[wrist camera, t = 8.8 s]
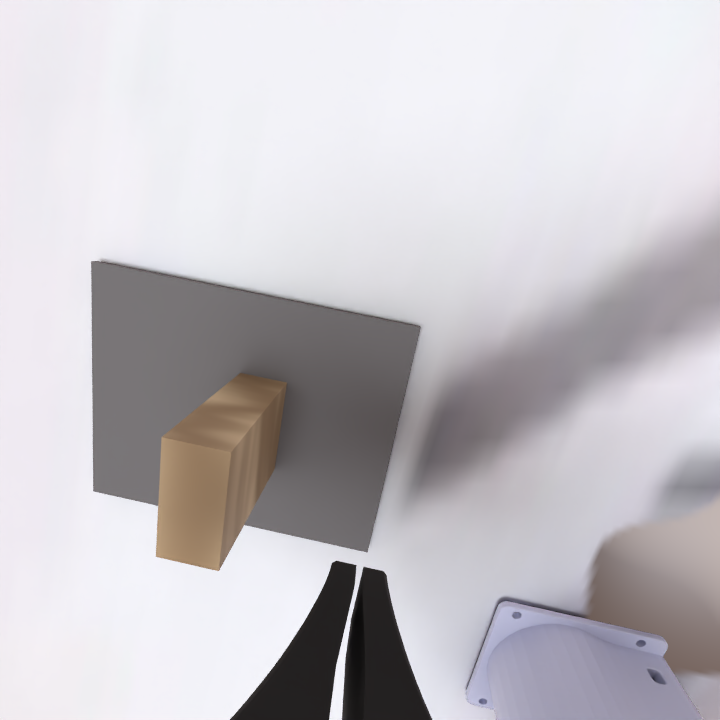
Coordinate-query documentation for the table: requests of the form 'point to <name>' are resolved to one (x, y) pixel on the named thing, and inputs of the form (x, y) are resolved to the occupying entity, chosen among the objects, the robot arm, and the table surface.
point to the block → (217, 470)
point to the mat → (258, 358)
